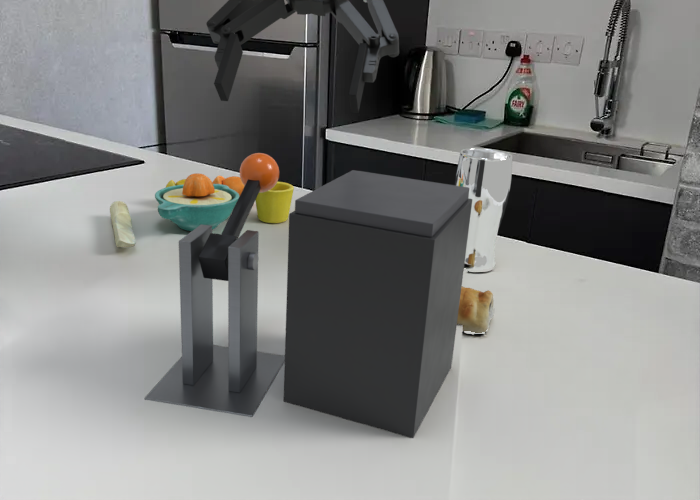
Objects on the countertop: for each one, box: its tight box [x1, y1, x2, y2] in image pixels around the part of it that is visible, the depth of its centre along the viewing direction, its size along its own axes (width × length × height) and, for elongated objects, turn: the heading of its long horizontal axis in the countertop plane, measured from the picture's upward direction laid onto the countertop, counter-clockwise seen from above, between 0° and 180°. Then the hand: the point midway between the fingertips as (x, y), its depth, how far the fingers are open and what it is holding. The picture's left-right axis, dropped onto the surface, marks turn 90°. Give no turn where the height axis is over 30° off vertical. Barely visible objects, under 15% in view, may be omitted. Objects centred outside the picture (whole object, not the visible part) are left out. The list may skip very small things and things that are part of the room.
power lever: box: [198, 152, 280, 282], centre depth 58 cm, size 14×4×4 cm, turn 169°
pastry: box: [457, 286, 495, 333], centre depth 74 cm, size 9×7×4 cm
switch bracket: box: [144, 225, 285, 418], centre depth 56 cm, size 10×9×14 cm
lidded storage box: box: [283, 169, 472, 439], centre depth 56 cm, size 12×12×18 cm
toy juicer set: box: [109, 172, 295, 248], centre depth 99 cm, size 29×18×8 cm, turn 132°
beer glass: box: [454, 147, 514, 270], centre depth 88 cm, size 7×7×15 cm
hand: (286, 98), depth 68 cm, fingers open, 13 cm apart
